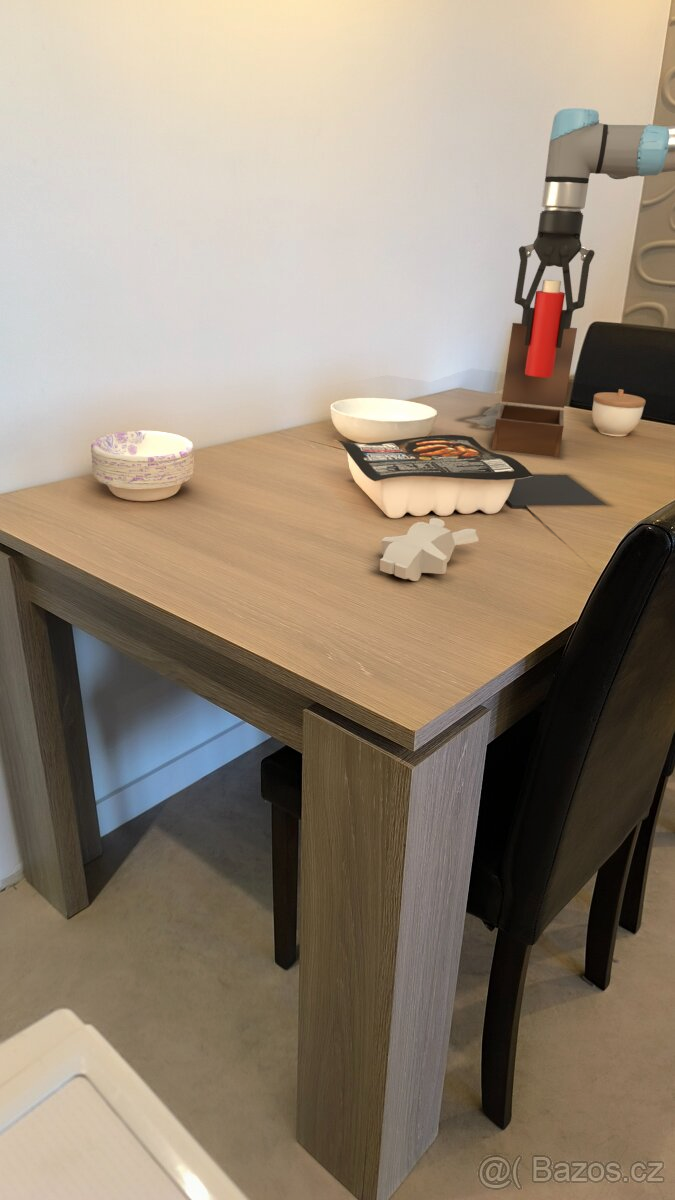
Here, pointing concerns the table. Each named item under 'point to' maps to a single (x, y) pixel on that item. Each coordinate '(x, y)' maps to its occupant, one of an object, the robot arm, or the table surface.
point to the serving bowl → (382, 419)
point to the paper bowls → (142, 464)
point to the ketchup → (545, 330)
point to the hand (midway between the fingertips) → (542, 345)
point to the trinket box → (616, 412)
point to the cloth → (489, 416)
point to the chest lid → (537, 388)
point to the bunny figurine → (422, 549)
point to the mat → (549, 492)
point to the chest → (528, 430)
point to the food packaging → (433, 475)
